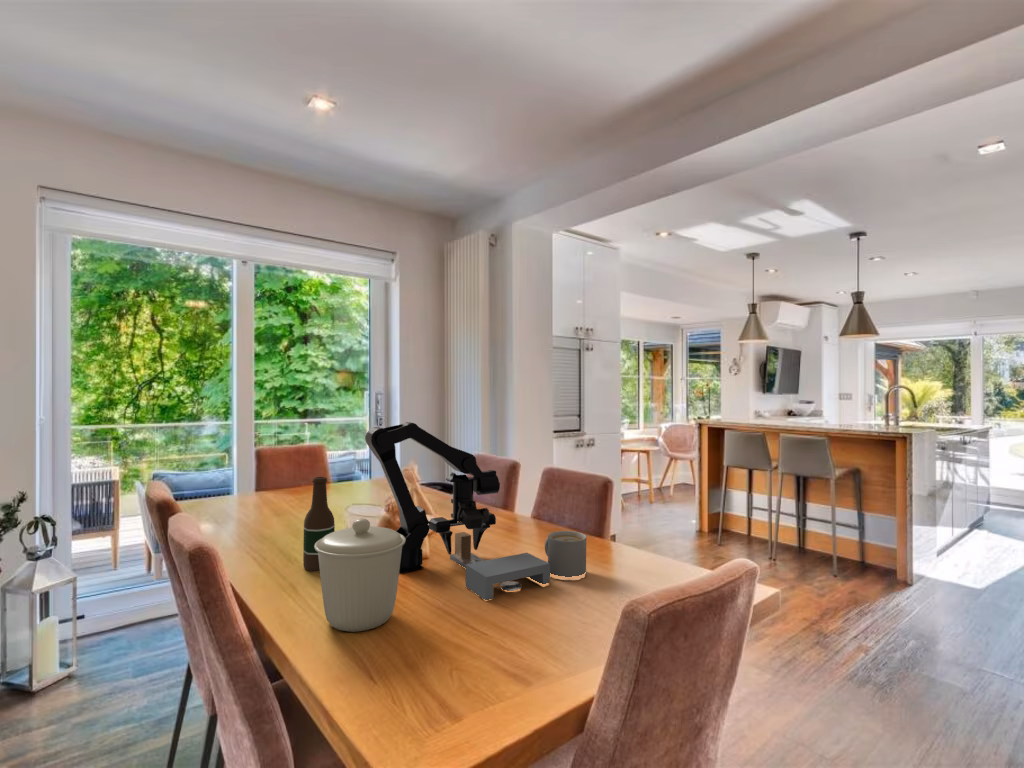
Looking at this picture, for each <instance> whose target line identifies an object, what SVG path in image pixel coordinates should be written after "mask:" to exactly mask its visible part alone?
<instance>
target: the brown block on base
mask: <svg viewBox="0 0 1024 768" xmlns="http://www.w3.org/2000/svg"><path fill="white" fill-rule="evenodd" d="M449 559H450V561H452V560H453V562H454V561H455V562H456V564H457V563H458V565H459V564H460V565H461V566H460V565H459V566H460V567H462V566H463V567H465V568H466V564H471V563H476V562H481V561H486V560H485V559H484V558H481V557H480V556H478V555H476V554H474V553H472V535H471V534H470V533H467V532H465V531H462V532H456V533H454V553H451V555H449ZM455 562H454V563H455ZM463 567H462V568H463ZM465 568H464V569H465Z"/></svg>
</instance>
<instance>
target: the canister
mask: <svg viewBox="0 0 1024 768" xmlns="http://www.w3.org/2000/svg"><path fill="white" fill-rule="evenodd" d="M351 525H352V527H349V528H342V529H338V530H335V532H332V533H330V534H327V535H326V536H324V537H323V538H322V539H320V540H318V541H317V542H316V543H315V546H314V548H315V550H316V551H317V552H318V557H319V568H320V571H319V575H320V586H321V593H322V601H323V609H324V615H325V618H326V621H327V622H328V624H329V625H330V626H331V627H333V628H334V629H336V630H338V631H343V632H353V633H354V632H364V631H369V630H372V629H375V628H377V627H380V626H381V625H383V624H384V625H385V623H386V622H388V620H389V619H390V618H391V617H392V615H393V613H394V610H395V606H396V598H397V592H398V584H399V577H400V573H399V570H400V561H401V552H402V546H403V545H404V544H405V541H406V539H405V537H404V536H403V535H401V534H399V533H398V532H396V531H397V530H394V529H392V528H389V527H383V526H371V522H370V521H369V519H367V518H365V517H363V518H357V519H355V520H354V521H353V522H352V524H351Z"/></svg>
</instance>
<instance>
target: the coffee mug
mask: <svg viewBox="0 0 1024 768" xmlns="http://www.w3.org/2000/svg"><path fill="white" fill-rule="evenodd" d="M544 552H545V554H546V557H547V562H548V563H550V573H551V574H554V575H558V576H565V577H572V576H579V575H582V574H584V573H585V572H586V573H587V535H585V533H582V532H578V531H573V530H557V531H552V532H549V534H548V535H547V537H546V539H545V541H544Z"/></svg>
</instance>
